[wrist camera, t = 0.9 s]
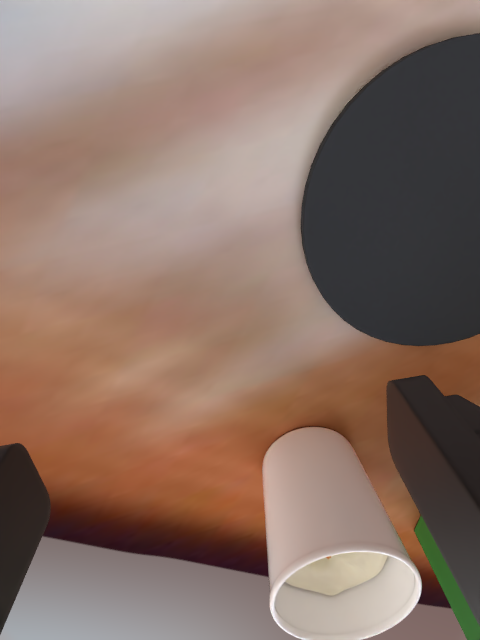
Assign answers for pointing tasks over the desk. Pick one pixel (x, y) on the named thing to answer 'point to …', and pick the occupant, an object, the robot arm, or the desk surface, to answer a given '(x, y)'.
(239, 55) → the desk surface
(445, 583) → the hardback book
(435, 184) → the disc
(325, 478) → the white cup
